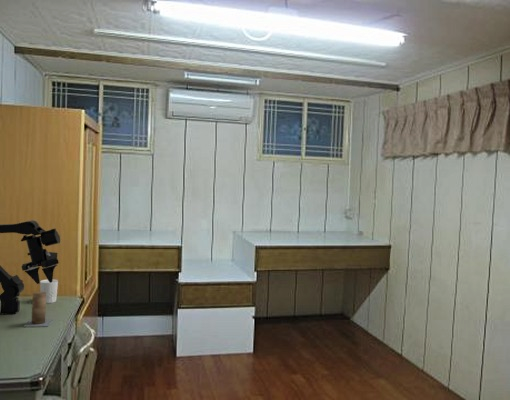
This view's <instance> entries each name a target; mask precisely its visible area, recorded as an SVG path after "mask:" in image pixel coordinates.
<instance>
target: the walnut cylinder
mask: <svg viewBox="0 0 510 400" xmlns="http://www.w3.org/2000/svg"><path fill="white" fill-rule="evenodd" d="M31 304H32V307H31V319H32V324H42V323H45V319H46V308H47V307H46V305H47V303H46V292H40V291H35V292H33V293H32V303H31Z"/></svg>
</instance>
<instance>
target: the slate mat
mask: <svg viewBox="0 0 510 400" xmlns="http://www.w3.org/2000/svg"><path fill="white" fill-rule="evenodd" d="M53 321H54V319H53V318H45V323H42V324H32V318H31V319H28V320H27V322H26V323H25V324H24V325H23V328H47V327H49V326H50V324H51V323H52V322H53Z"/></svg>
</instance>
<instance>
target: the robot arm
mask: <svg viewBox="0 0 510 400" xmlns="http://www.w3.org/2000/svg"><path fill="white" fill-rule="evenodd" d="M13 233H14V234H20V235H22V238H21V239H20V242H26V246H27V249H28V252H27V253H26V254H27V256H29V257H30V261H29V262H26V263H25V262H24V263H23V264H22V265H21V269H22V271H24V273H26V274H27V275H28V276H29V277H30V278H31V279H32V280H33V281H34V283H35V284H36V285H39V284H40V281H41V280H40V275H39V270H40V267H42V268H41V270H42V272H43V273H44V275H45V277H46V280H47V279H48V281H49V282H50V283H51V282H52V280H53V279H54V278H53V277H54V270H55V268H56V267H57V266H58V264H60V262H59V259H58V252H52V251H48V250H47V249H46V248H44V246H45V247H49V246H53V245H58V244H61V237H60V236H61V235H60V234H59V232H58V231H57V229H56V228H52V229H49V230H45V229H44V228H43V227H41V226H40V224H39V222H37V221H36V220H27V221H23V222H18V223H4V224H0V234H13ZM0 286H1V288H2V290H3V292H1V293H0V315H15V314H17V313H18V312H19V311H20V308H21V305H20V303H21V302H20V300H19V296H20V295H21V293H22V292H23V291H24V290H25V284H24V280H23V279H21V278H20V277H19V276H18V275H17V274H15V275H11V274H9V272H8V271H6V269H4V268H3V267H2V266H1V265H0Z"/></svg>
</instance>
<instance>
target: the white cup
mask: <svg viewBox="0 0 510 400" xmlns="http://www.w3.org/2000/svg"><path fill="white" fill-rule="evenodd" d="M39 284H40V285H39V290H40V291H39V292H46V304H52V303H55V302H57V297H58V296H57V295H58V289H59V287H58V285H59V280H58V279H55V278H53V280H52V282H51V283H50V282H49V281H48V279H47V278H46V279H42V280H40V283H39Z"/></svg>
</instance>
